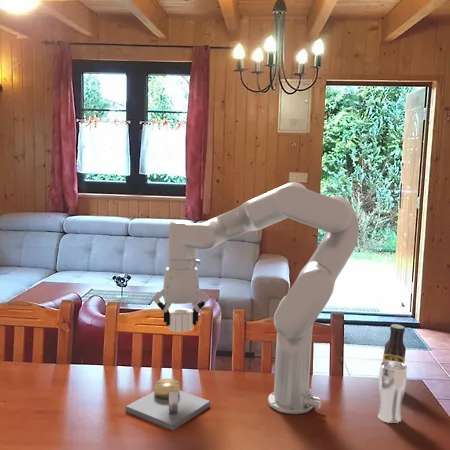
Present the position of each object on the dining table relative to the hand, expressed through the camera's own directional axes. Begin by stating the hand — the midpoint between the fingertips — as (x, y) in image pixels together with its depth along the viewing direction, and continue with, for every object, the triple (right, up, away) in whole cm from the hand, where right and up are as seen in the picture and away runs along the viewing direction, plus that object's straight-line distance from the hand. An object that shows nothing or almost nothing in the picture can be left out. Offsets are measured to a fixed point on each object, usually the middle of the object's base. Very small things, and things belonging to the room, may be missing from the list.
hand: (180, 323), depth 154 cm
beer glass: (+57, -24, -11) cm, 62 cm away
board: (-2, -21, -10) cm, 23 cm away
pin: (-1, -20, -15) cm, 25 cm away
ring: (0, -1, 0) cm, 1 cm away
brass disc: (-3, -19, -5) cm, 20 cm away
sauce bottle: (+63, -21, +7) cm, 67 cm away
